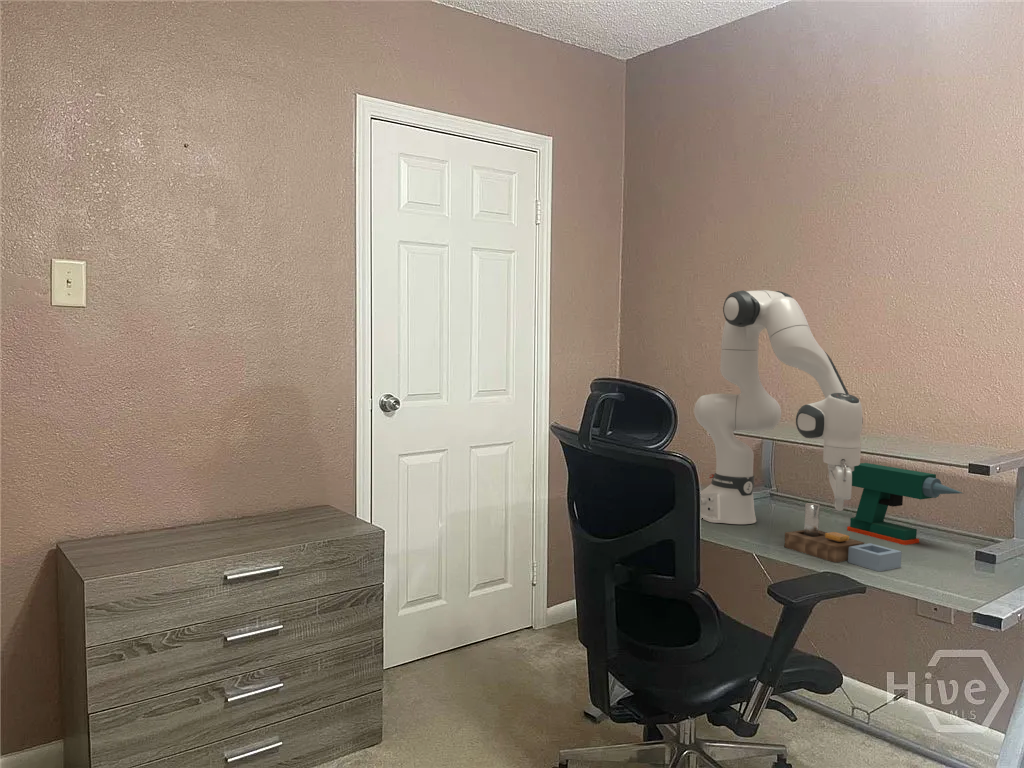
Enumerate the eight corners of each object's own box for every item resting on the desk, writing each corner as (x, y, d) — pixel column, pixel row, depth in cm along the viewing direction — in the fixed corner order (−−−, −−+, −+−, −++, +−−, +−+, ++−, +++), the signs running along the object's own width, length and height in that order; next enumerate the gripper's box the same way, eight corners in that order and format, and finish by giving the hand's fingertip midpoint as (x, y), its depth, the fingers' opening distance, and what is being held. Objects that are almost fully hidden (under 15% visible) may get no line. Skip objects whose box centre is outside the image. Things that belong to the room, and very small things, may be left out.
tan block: (824, 552, 201) (825, 533, 201) (833, 551, 203) (834, 531, 203) (839, 557, 197) (840, 537, 197) (848, 555, 199) (849, 535, 199)
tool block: (784, 547, 208) (785, 532, 208) (811, 542, 213) (812, 528, 213) (835, 562, 194) (836, 546, 194) (863, 557, 199) (864, 542, 199)
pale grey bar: (800, 547, 208) (802, 503, 207) (809, 546, 210) (811, 502, 209) (811, 551, 205) (813, 506, 204) (820, 549, 206) (822, 505, 206)
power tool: (968, 554, 206) (972, 480, 205) (953, 557, 202) (957, 481, 201) (862, 528, 233) (865, 462, 232) (847, 530, 230) (850, 463, 229)
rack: (847, 562, 195) (848, 546, 194) (869, 558, 199) (870, 543, 199) (878, 571, 187) (879, 555, 187) (900, 567, 191) (901, 551, 191)
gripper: (859, 464, 188) (856, 520, 190) (850, 451, 208) (847, 501, 209) (831, 462, 190) (828, 517, 191) (825, 449, 210) (822, 499, 211)
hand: (838, 509), depth 200 cm, fingers closed
